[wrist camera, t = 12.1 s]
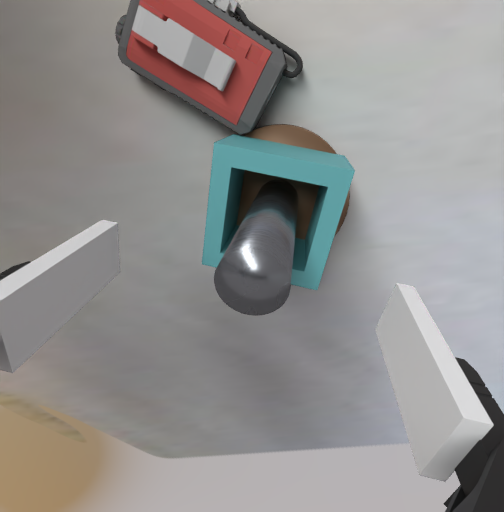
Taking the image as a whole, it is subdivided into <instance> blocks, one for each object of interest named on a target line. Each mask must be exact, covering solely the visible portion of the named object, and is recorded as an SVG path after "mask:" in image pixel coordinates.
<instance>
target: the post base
mask: <svg viewBox="0 0 504 512" xmlns="http://www.w3.org/2000/svg"><path fill="white" fill-rule="evenodd" d="M243 136H246V137H251V138H256V139H261V140H267V141H272V142H277V143H282V144H287V145H292V146H297V147H302V148H307V149H312V150H318V151H323V152H328V153H333V154H336V152H335V151H334V149H333V148H332V147H331V146H330V145H329V144H328V143H327V142H326V141H325V140H323V139H322V138H321V137H320V136H318V135H317V134H315V133H313V132H312V131H309V130H307V129H304V128H302V127H298V126H294V125H286V124H275V125H269V126H264V127H261V128H258V129H255V130H253V131H251V132H249V133H247V134H245V135H243ZM276 179H279V180H284V181H287V182H288V183H290V184H291V185H292V186H293V187H294V188H295V189H296V191H297V194H298V212H297V222H296V233H295V238H299V239H303V240H305V238H306V234H307V230H308V226H309V223H310V219H311V215H312V212H313V208H314V204H315V200H316V197H317V193H318V189H319V186H320V185H316V184H312V183H307V182H302V181H297V180H292V179H287V178H282V177H277V176H272V175H267V174H262V173H258V172H253V171H248V170H245V171H244V178H243V184H242V191H241V198H240V204H239V211H238V218H237V224H236V225H239V226H240V224H241V223H242V221H243V219H244V217H245V215H246V214H247V212H248V210H249V208H250V206H251V204H252V203H253V201H254V199H255V197H256V195H257V194H258V192H259V190H260V188H261V187H262V186H263V185H264V184H265V183H267V182H268V181H271V180H276ZM349 197H350V196H349V191H348V194H347V197H346V200H345V204H344V207H343V210H342V213H341V216H340V219H339V223H338V226H337V229H336V232H335V235H336V234H337V232H338V231H339V229H340V227H341V226H342V224H343V222H344V219H345V217H346V214H347V210H348V206H349ZM335 235H334V236H335Z"/></svg>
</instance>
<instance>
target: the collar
mask: <svg viewBox="0 0 504 512" xmlns="http://www.w3.org/2000/svg"><path fill="white" fill-rule="evenodd" d="M245 170H248V171H253V172H258V173H262V174H267V175H272V176H277V177H282V178H287V179H292V180H297V181H302V182H307V183H312V184H316V185H320V186H319V189H318V193H317V197H316V200H315V204H314V208H313V212H312V215H311V219H310V223H309V226H308V230H307V234H306V238H305V240H303V239H299V238H295V244H294V254H293V265H292V276H291V285H296V286H300V287H305V288H309V289H314V290H317V289H318V286H319V283H320V280H321V277H322V273H323V270H324V267H325V264H326V261H327V258H328V254H329V251H330V248H331V245H332V242H333V239H334V235H335V232H336V229H337V226H338V223H339V219H340V216H341V213H342V210H343V207H344V204H345V200H346V197H347V194H348V191H349V188H350V185H351V181H352V178H353V175H354V172H355V170H354V169H353V167H352V166H351V164H350V163H349V161H348V160H347V158H346V157H345V156H343V155H338V154H333V153H328V152H323V151H318V150H312V149H307V148H302V147H297V146H292V145H287V144H282V143H277V142H272V141H267V140H261V139H256V138H251V137H246V136H241V135H236V134H233V135H231V136H228V137H226V138H224V139H221V140H219V141H217V142H214V149H213V159H212V169H211V178H210V188H209V198H208V208H207V218H206V228H205V238H204V248H203V257H202V264H203V265H208V266H212V267H217V266H218V264H219V262H220V261H221V259H222V257H223V255H224V253H225V252H226V250H227V248H228V246H229V244H230V243H231V241H232V239H233V237H234V235H235V233H236V232H237V230H238V228H239V225H236V224H237V218H238V211H239V204H240V198H241V191H242V184H243V178H244V171H245Z"/></svg>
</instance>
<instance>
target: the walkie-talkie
mask: <svg viewBox="0 0 504 512" xmlns="http://www.w3.org/2000/svg"><path fill="white" fill-rule="evenodd" d="M240 8H241V6H240V5H239V3H238V2H237V1H235V0H131V1H130V5H129V8H128V12H127V15H124V16H122V17H121V18H120V20H119V22H118V23H117V26H116V33H115V34H116V40H117V41H118V44H119V48H118V56H119V58H120V60H121V62H122V63H123V64H125V65H126V66H128V67H130V68H131V70H133V71H134V72H136V73H137V74H139V75H141V76H144V77H146V78H148V79H149V80H151V81H153V82H154V84H155V85H157V86H159V87H160V88H162V89H163V90H167V91H169V92H170V93H172V94H176V95H177V97H179V98H182V99H183V100H184V101H185V102H189V103H190V105H194V106H195V107H196V108H197V109H200V110H202V112H203V113H207V114H208V116H210V117H211V116H212V117H213V118H214V120H218V121H220V123H221V124H225V125H226V127H227V128H229V127H230V128H231V129H232V131H236V132H238V134H244V133H248V132H251V131H253V130H254V129H255V127H256V126H257V124H258V122H259V120H260V118H261V116H262V114H263V112H264V110H265V108H266V106H267V104H268V102H269V100H270V98H271V96H272V95H273V93H274V91H275V89H276V87H277V85H278V83H279V81H280V79H281V77H282V75H284V76H286V77H288V78H294V77H297V75H298V74H299V73H300V72H301V71H302V67H303V63H302V59H301V57H300V56H299V55H298V54H297V52H295V51H294V50H292V49H291V48H289V47H288V46H286V45H285V44H283V43H281V42H280V41H278V40H277V39H275V38H274V37H272V36H271V35H269V34H268V33H266V32H265V31H263V30H262V29H260V28H259V27H257V26H256V25H254V24H253V23H252V22H250V21H249V20H248V19H247V17H246V15H245V13H244V12H243V11H242V10H241V9H240ZM233 15H235V16H237V15H239V16H240V18H241V20H242V22H243V23H244V24H245V25H246V27H245V25H244V24H243V23H242V22H241V21H240V22H238V21H237V20H236V18H234V17H233ZM232 17H233V18H232ZM284 52H285V53H287V54H288V55H290V56H291V57H292V58H294V59H295V60H296V62H297V65H298V66H297V68H296V69H295V71H293V72H290V71H287V70H285V69H286V67H287V64H286V60H285V56H284Z"/></svg>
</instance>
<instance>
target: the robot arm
mask: <svg viewBox="0 0 504 512" xmlns="http://www.w3.org/2000/svg"><path fill="white" fill-rule="evenodd" d="M119 273H120V259H119V239H118V223H116V222H111V221H107V220H101V221H99V222H97V223H96V224H94V225H92V226H91V227H89V228H87V229H86V230H84V231H82V232H81V233H79V234H77V235H76V236H74V237H72V238H71V239H69V240H67V241H66V242H64V243H62V244H61V245H59V246H57V247H56V248H54V249H52V250H51V251H49V252H47V253H46V254H44V255H42V256H41V257H39V258H37V259H36V260H34V261H32V262H29V261H28V262H25V263H22V264H19V265H16V266H13V267H11V268H9V269H8V270H6V271H4V272H2V273H1V274H0V370H3V371H7V372H11V373H13V372H14V371H15V370H16V369H18V368H19V367H20V366H21V365H22V364H23V363H24V362H25V361H26V360H27V359H28V358H29V357H30V356H31V355H32V354H34V353H35V352H36V351H37V350H38V349H39V348H40V347H41V346H42V345H43V344H44V343H45V342H46V341H47V340H48V339H49V338H51V337H52V336H53V335H54V334H55V333H56V332H57V331H58V330H59V329H60V328H61V327H62V326H63V325H64V324H65V323H67V322H68V321H69V320H70V319H71V318H72V317H73V316H74V315H75V314H76V313H77V312H78V311H79V310H80V309H81V308H82V307H84V306H85V305H86V304H87V303H88V302H89V301H90V300H91V299H92V298H93V297H94V296H95V295H96V294H97V293H98V292H100V291H101V290H102V289H103V288H104V287H105V286H106V285H107V284H108V283H109V282H110V281H111V280H112V279H113V278H114V277H115V276H117V275H118V274H119ZM375 330H376V334H377V337H378V340H379V344H380V347H381V350H382V353H383V357H384V360H385V363H386V367H387V370H388V373H389V377H390V380H391V383H392V386H393V390H394V393H395V396H396V400H397V403H398V406H399V410H400V413H401V416H402V419H403V423H404V426H405V429H406V433H407V436H408V439H409V443H410V446H411V449H412V452H413V456H414V459H415V462H416V466H417V469H418V472H419V475H421V476H425V477H428V478H432V479H437V480H440V481H446V480H447V479H448V478H449V477H450V476H451V474H452V473H453V472H454V471H456V474H457V476H458V479H459V481H460V484H461V485H460V486H459V487H458V489H457V490H456V491H455V492H454V493H453V494H452V495H451V496H450V497H449V498H448V500H447V501H446V502H445V503H444V505H445V506H446V507H447V509H446V511H445V512H504V414H503V412H502V411H501V409H500V408H499V406H498V404H497V403H496V401H495V400H494V398H492V395H491V393H490V392H489V390H488V388H487V387H485V384H484V382H483V381H482V379H481V377H480V376H479V374H478V373H477V371H476V370H475V369H474V368H473V367H472V366H470V365H469V364H468V363H467V362H466V361H465V360H464V359H460V358H456V357H454V355H453V354H452V352H451V350H450V348H449V347H448V345H447V343H446V341H445V340H444V338H443V336H442V335H441V333H440V331H439V329H438V328H437V326H436V324H435V322H434V321H433V319H432V317H431V315H430V314H429V312H428V310H427V309H426V307H425V305H424V303H423V302H422V300H421V298H420V296H419V295H418V293H417V291H416V289H415V288H414V286H409V285H404V284H400V283H396V285H395V287H394V290H393V292H392V294H391V296H390V298H389V301H388V303H387V305H386V307H385V309H384V311H383V314H382V316H381V318H380V320H379V322H378V325H377V327H376V329H375Z"/></svg>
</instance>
